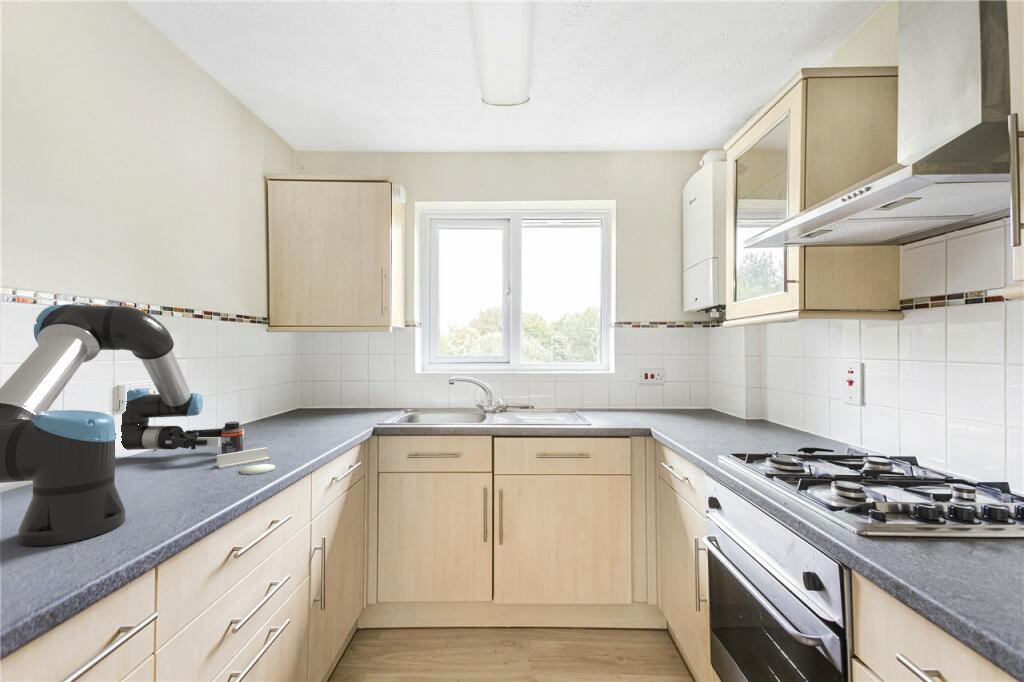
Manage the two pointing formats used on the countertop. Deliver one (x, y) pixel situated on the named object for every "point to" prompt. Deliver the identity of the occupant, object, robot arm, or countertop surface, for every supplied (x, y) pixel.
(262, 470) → the sage mat
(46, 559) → the countertop surface
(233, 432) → the supplement bottle
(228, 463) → the low wall
